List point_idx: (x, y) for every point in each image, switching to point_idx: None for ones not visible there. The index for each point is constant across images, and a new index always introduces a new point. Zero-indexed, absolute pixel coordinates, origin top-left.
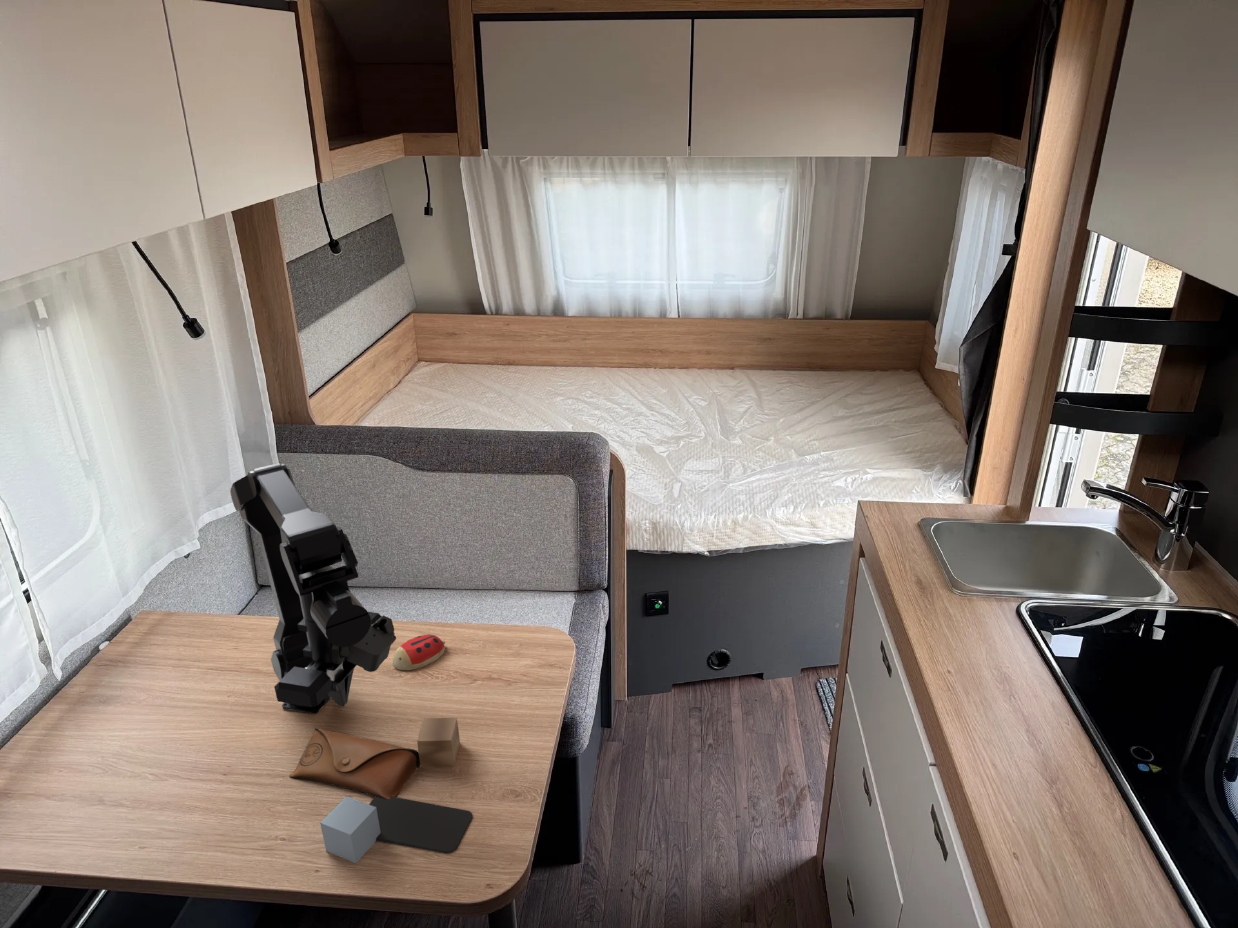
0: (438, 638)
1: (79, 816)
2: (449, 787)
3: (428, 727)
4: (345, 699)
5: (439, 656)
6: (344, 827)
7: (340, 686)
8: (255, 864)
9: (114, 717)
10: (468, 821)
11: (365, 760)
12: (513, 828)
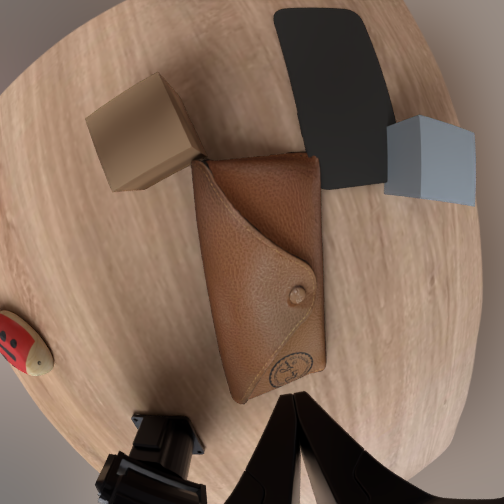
0: None
1: (409, 460)
2: (234, 71)
3: (135, 155)
4: (300, 409)
5: (8, 311)
6: (469, 152)
7: (390, 483)
8: (466, 280)
9: None
10: (295, 9)
11: (284, 250)
12: None
